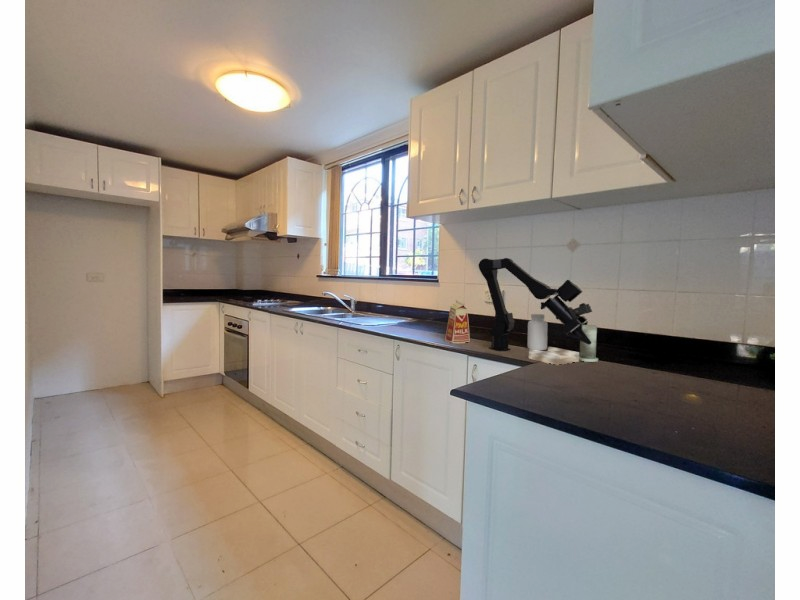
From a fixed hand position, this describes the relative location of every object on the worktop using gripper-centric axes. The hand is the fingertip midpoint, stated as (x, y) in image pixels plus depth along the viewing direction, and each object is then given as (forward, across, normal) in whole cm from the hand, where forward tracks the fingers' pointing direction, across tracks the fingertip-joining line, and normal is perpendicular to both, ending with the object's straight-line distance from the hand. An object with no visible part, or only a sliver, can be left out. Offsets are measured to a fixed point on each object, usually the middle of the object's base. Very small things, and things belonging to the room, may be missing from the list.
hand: (592, 342), depth 124 cm
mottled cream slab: (-3, -7, +13) cm, 15 cm away
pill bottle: (-11, +12, +21) cm, 26 cm away
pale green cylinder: (+4, 0, +6) cm, 7 cm away
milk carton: (-35, +5, +45) cm, 57 cm away
